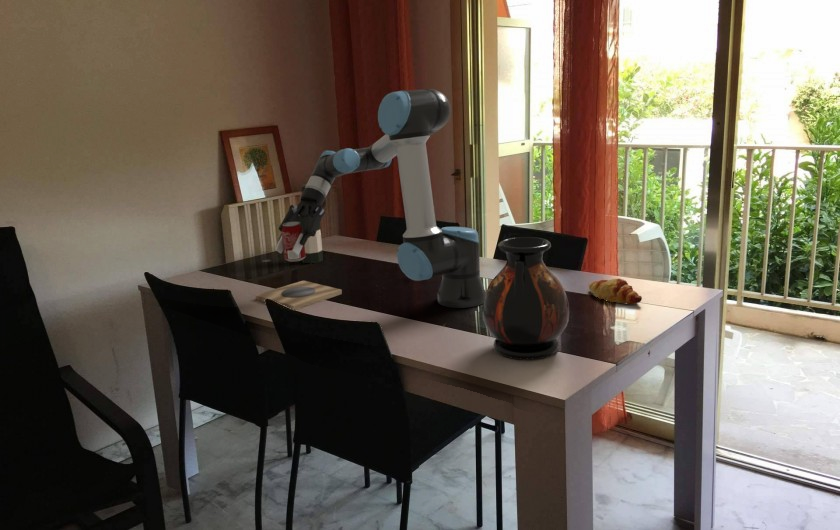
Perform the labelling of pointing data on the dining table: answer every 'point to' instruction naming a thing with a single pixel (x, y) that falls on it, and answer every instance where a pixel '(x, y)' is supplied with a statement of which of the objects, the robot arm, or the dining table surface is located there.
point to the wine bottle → (312, 244)
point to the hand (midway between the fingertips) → (286, 252)
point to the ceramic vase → (525, 302)
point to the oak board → (300, 294)
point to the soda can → (292, 241)
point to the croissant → (615, 291)
